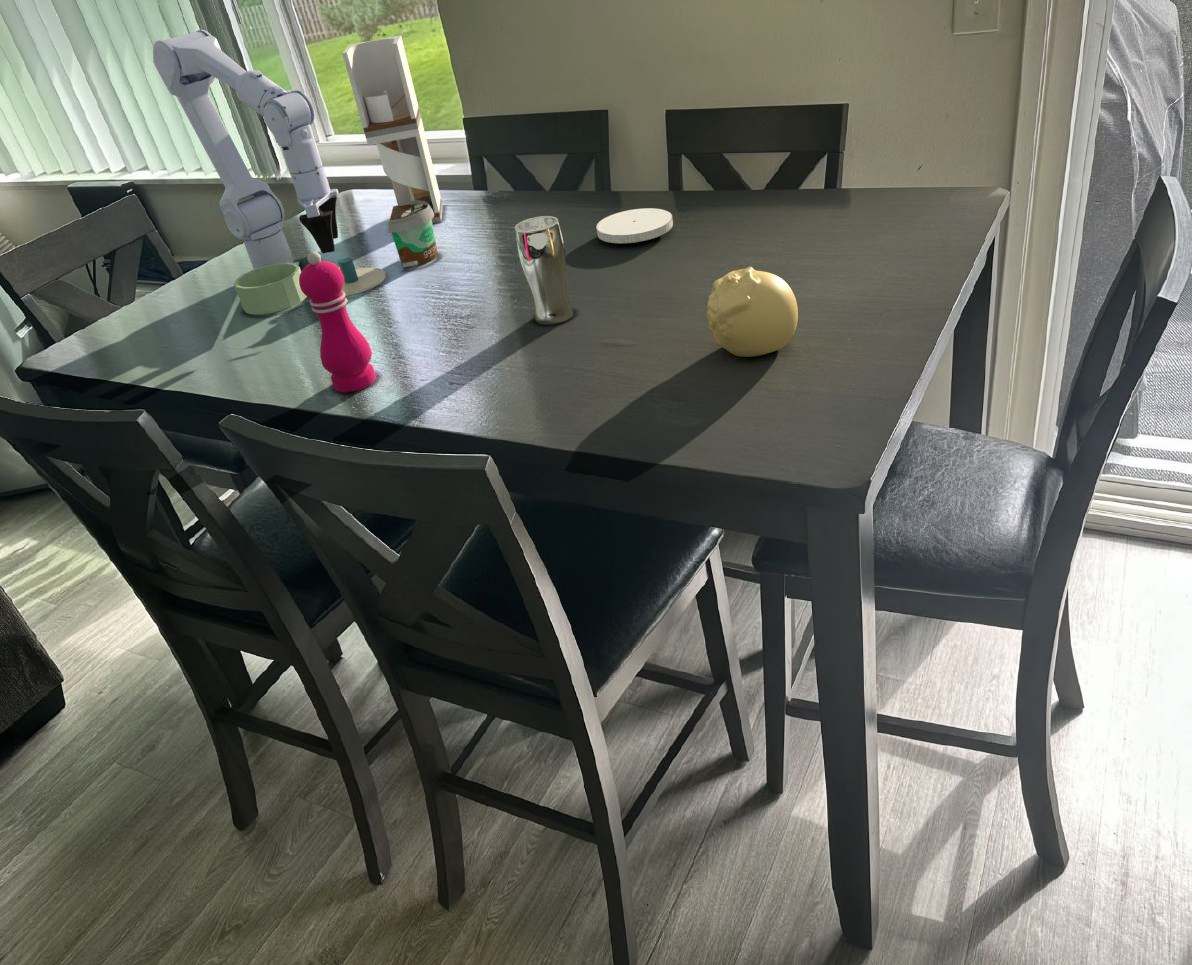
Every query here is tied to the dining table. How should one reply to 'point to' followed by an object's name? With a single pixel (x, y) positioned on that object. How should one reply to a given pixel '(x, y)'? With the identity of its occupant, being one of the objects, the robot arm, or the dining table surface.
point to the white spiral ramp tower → (393, 120)
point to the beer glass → (544, 267)
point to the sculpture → (752, 312)
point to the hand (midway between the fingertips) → (330, 245)
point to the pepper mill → (336, 327)
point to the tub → (270, 288)
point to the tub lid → (359, 277)
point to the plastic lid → (634, 225)
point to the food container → (414, 234)
